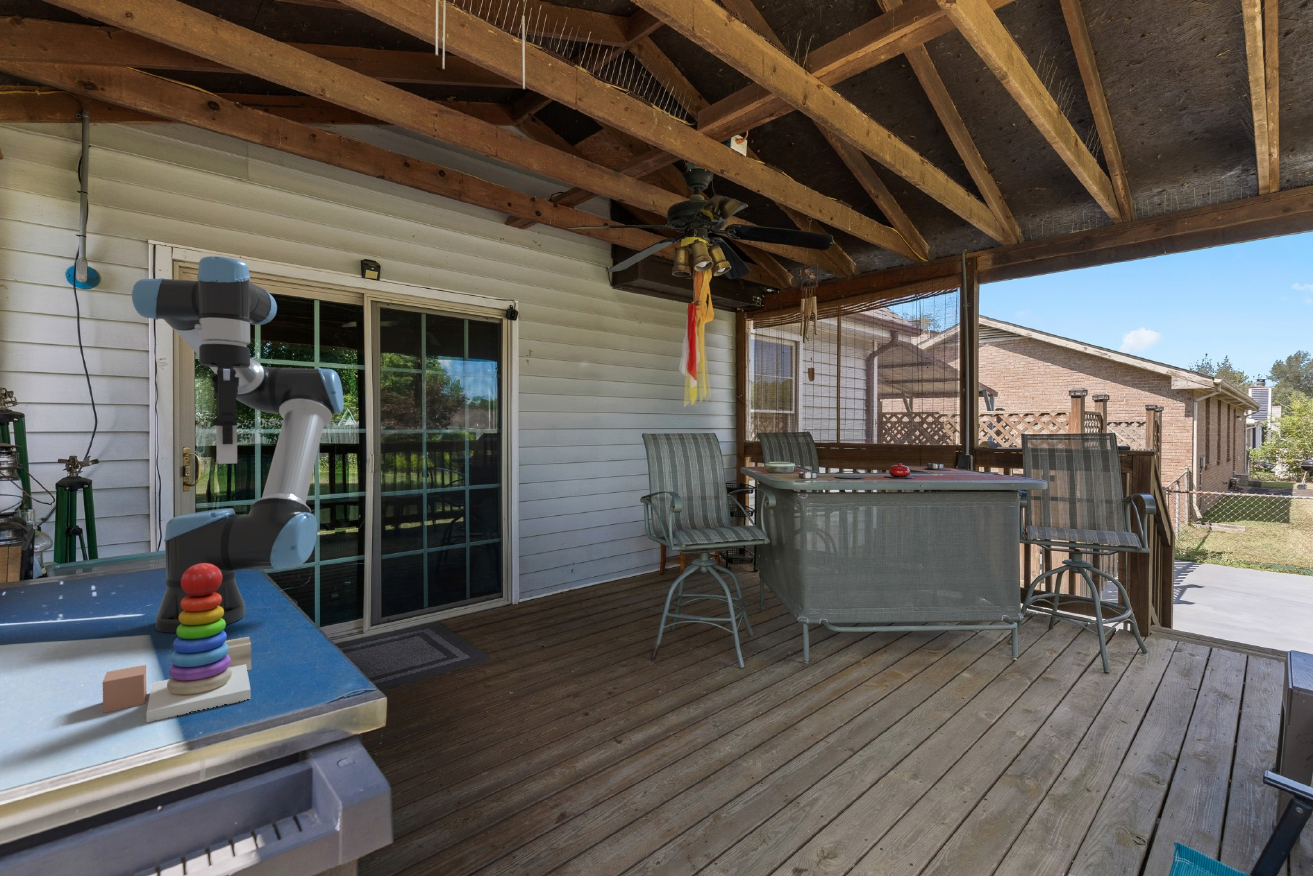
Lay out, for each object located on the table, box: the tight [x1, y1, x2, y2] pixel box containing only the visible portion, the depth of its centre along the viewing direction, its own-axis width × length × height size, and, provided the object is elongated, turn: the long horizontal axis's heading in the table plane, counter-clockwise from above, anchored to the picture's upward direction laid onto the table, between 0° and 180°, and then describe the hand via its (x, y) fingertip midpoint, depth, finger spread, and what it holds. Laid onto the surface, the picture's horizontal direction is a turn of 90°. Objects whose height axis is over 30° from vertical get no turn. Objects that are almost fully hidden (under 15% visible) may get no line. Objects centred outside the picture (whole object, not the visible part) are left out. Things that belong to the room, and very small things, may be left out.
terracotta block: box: [102, 664, 148, 713], centre depth 90 cm, size 4×4×4 cm
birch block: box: [224, 636, 252, 671], centre depth 102 cm, size 4×4×4 cm
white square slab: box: [146, 664, 252, 723], centre depth 92 cm, size 12×12×2 cm
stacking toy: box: [167, 563, 232, 695], centre depth 92 cm, size 8×8×19 cm
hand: (226, 461), depth 110 cm, fingers open, 13 cm apart
